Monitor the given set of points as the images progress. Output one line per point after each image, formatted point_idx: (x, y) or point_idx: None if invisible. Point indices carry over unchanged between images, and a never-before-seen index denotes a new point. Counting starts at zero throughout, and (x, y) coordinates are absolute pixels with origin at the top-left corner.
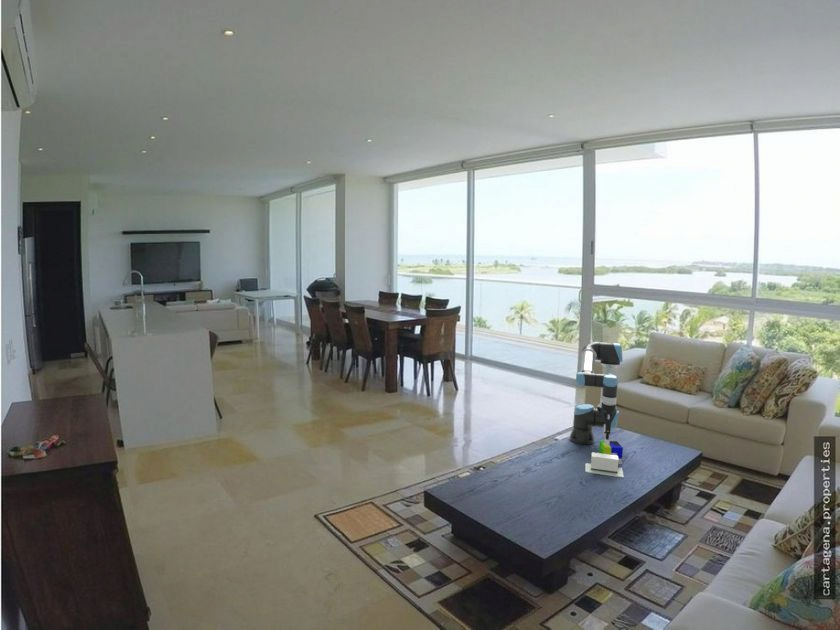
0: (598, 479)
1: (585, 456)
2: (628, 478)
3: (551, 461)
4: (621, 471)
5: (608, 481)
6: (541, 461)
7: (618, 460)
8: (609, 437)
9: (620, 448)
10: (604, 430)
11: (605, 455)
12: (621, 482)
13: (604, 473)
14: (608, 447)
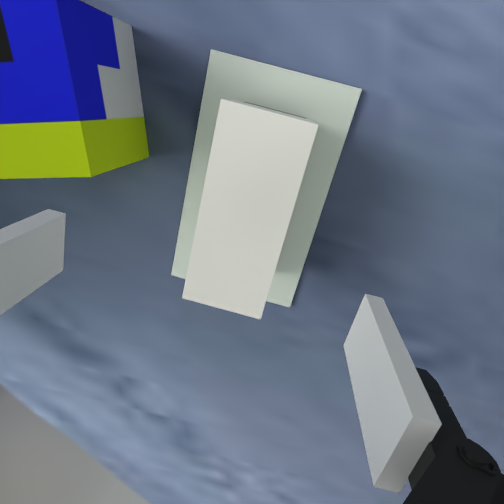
0: (383, 262)
1: (67, 243)
2: (373, 54)
3: (176, 419)
4: (271, 75)
5: (413, 212)
6: (184, 456)
7: (317, 124)
8: (410, 370)
9: (63, 19)
10: (14, 293)
11: (231, 212)
12: (433, 130)
13: (310, 207)
14: (86, 149)
